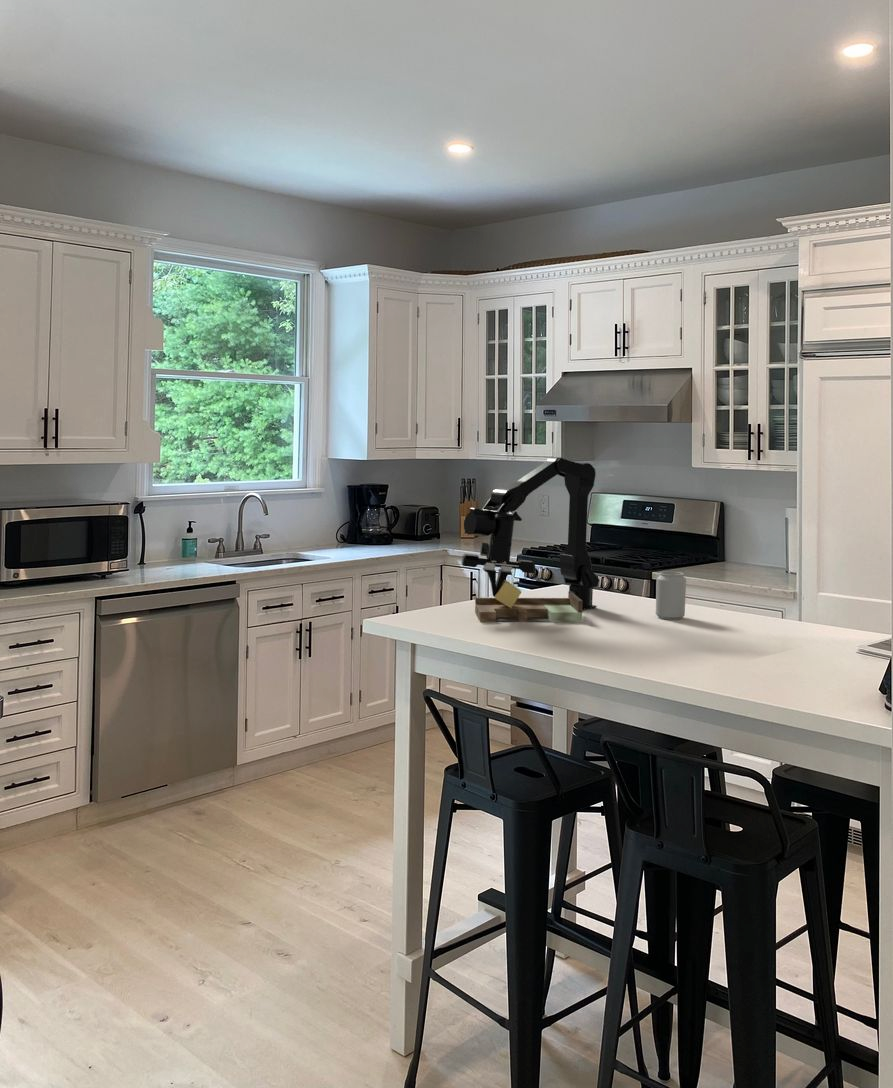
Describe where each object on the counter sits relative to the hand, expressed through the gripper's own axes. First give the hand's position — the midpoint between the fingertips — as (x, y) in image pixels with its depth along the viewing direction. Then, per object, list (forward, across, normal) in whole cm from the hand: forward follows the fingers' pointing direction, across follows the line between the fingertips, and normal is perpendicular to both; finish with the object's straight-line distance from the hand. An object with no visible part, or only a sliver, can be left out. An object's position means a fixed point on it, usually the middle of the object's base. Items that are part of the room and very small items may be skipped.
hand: (494, 596), depth 255 cm
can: (+1, -47, +1) cm, 47 cm away
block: (+1, -2, 0) cm, 3 cm away
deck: (+4, -9, +1) cm, 10 cm away
